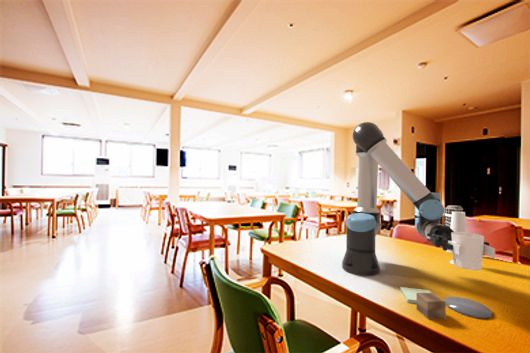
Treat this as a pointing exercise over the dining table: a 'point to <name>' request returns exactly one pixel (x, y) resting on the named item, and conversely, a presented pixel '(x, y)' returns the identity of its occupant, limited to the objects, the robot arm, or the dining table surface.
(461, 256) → the white cup
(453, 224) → the champagne flute
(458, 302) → the slate coaster
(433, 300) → the walnut block
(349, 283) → the dining table surface
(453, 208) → the decorative candle
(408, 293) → the green mat
